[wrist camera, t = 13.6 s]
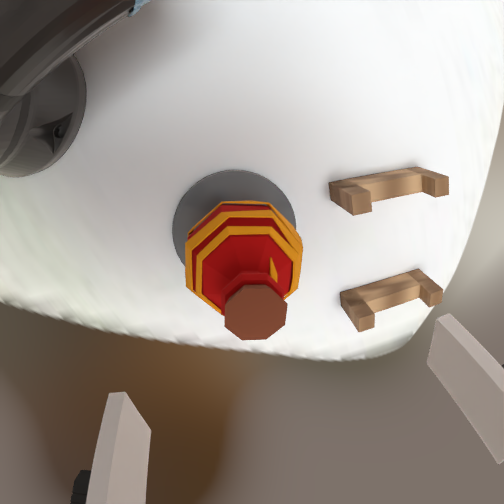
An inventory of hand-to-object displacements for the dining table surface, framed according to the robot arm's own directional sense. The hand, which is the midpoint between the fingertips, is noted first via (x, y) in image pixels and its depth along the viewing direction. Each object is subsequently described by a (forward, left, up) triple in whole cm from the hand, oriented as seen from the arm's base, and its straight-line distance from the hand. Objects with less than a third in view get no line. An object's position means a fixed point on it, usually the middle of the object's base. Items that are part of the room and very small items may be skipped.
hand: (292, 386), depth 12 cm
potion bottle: (-1, -2, -23) cm, 23 cm away
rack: (+16, -7, -24) cm, 29 cm away
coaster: (-1, -2, -24) cm, 24 cm away
